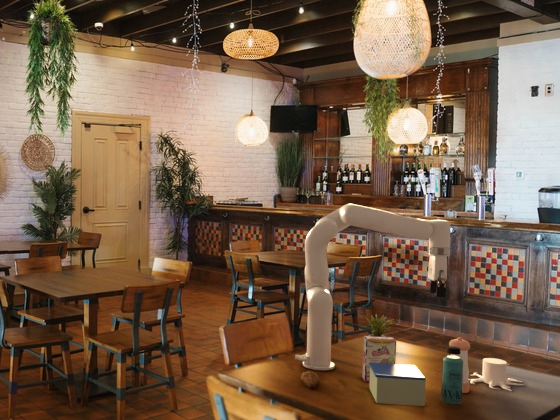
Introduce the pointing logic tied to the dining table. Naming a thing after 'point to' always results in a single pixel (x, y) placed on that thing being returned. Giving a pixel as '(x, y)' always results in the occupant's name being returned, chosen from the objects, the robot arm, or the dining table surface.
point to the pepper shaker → (463, 355)
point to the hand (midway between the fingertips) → (437, 295)
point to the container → (397, 390)
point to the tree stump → (494, 374)
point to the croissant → (310, 379)
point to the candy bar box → (377, 353)
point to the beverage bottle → (452, 377)
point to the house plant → (378, 326)
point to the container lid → (396, 371)
